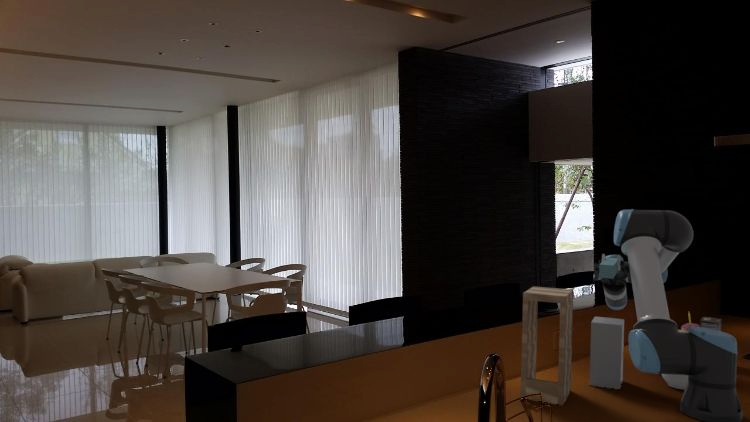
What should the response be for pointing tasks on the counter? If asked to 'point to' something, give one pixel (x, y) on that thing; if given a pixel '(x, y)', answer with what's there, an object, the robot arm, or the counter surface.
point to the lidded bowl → (676, 380)
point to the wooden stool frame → (529, 383)
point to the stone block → (606, 352)
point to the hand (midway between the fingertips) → (610, 258)
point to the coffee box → (711, 323)
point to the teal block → (608, 268)
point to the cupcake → (689, 325)
